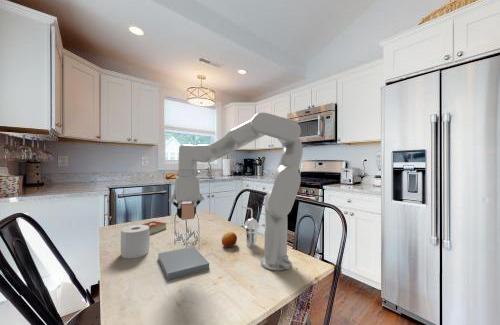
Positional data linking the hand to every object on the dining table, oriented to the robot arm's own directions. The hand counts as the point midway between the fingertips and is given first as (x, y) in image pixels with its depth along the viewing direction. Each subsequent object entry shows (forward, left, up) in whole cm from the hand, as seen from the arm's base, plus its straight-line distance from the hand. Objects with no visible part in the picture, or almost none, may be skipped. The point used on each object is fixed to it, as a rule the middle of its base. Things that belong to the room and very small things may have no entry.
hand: (186, 216), depth 93 cm
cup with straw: (+3, -35, -20) cm, 40 cm away
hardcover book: (+53, +9, -21) cm, 57 cm away
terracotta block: (0, 0, -1) cm, 1 cm away
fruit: (+8, -25, -20) cm, 33 cm away
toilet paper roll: (+22, +17, -20) cm, 35 cm away
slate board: (0, +1, -20) cm, 20 cm away
